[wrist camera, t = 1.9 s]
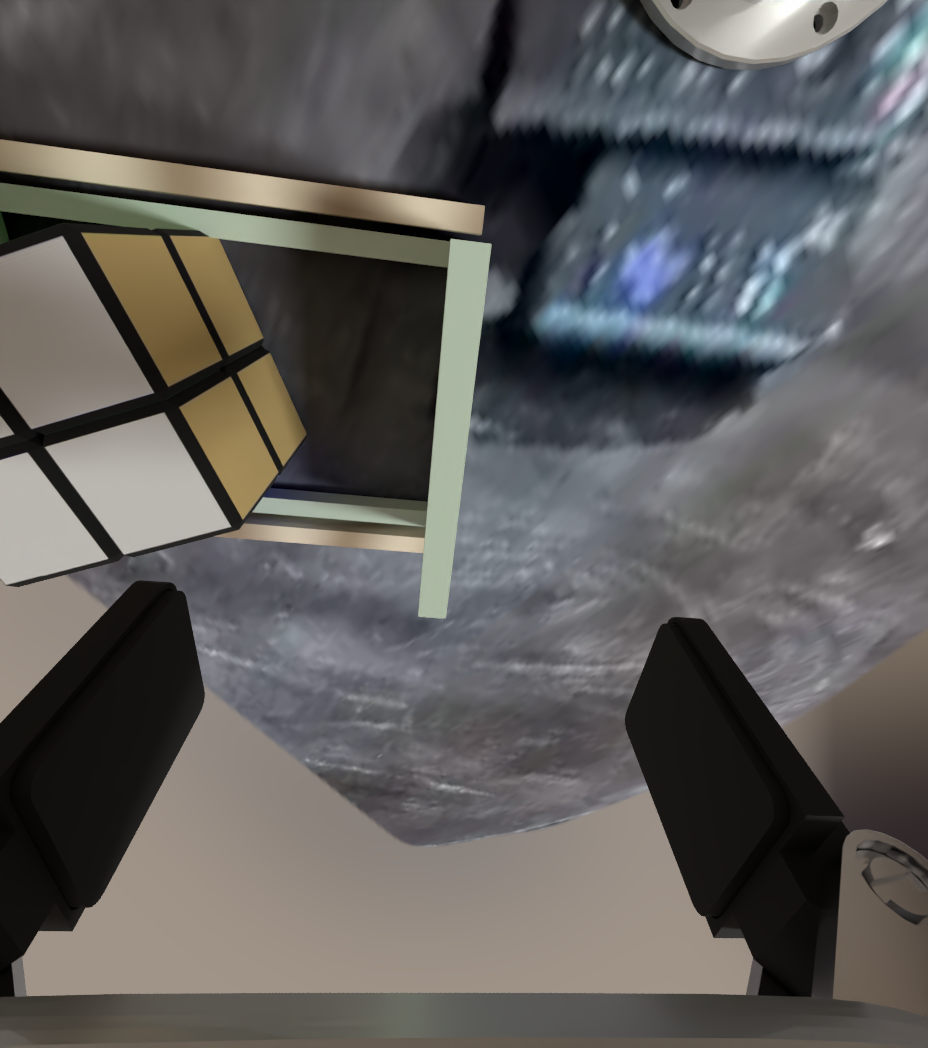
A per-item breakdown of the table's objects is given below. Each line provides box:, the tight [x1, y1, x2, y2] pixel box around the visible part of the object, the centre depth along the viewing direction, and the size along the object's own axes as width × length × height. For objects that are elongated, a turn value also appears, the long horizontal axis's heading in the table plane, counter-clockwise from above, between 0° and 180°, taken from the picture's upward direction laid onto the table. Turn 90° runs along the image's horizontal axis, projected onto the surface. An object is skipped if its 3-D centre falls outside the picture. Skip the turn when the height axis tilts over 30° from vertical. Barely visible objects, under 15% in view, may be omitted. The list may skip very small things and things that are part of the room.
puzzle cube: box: [0, 223, 307, 587], centre depth 20 cm, size 10×10×10 cm
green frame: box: [0, 183, 491, 619], centre depth 21 cm, size 21×14×9 cm, turn 84°
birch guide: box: [0, 139, 485, 553], centre depth 24 cm, size 23×17×2 cm
